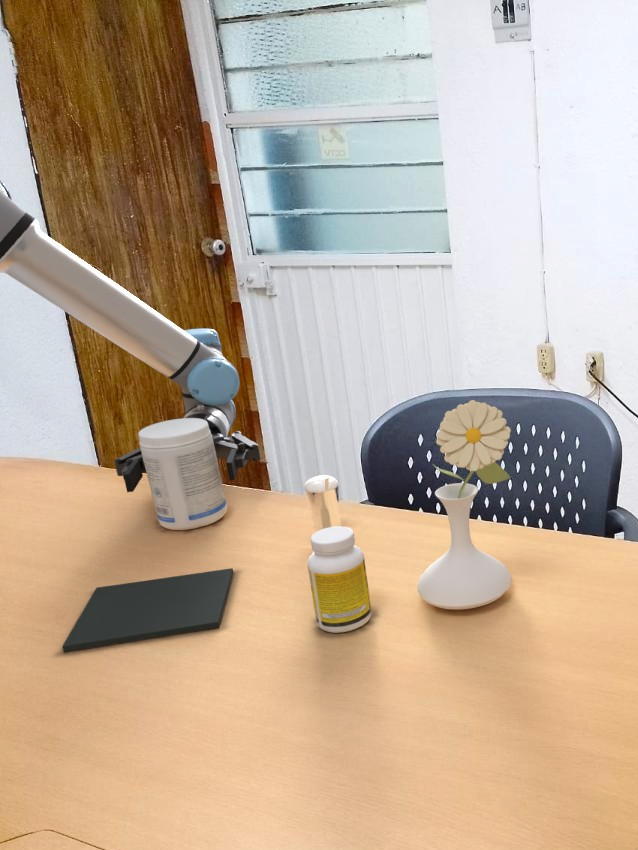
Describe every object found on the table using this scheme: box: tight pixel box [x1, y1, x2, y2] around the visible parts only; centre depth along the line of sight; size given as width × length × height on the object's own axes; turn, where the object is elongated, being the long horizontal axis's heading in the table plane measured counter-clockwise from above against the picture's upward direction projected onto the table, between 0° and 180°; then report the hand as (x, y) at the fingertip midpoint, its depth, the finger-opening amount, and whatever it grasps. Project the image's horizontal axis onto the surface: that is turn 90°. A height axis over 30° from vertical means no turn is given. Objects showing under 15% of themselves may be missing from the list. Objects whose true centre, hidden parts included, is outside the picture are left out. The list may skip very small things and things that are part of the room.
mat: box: [61, 567, 234, 653], centre depth 100 cm, size 16×14×1 cm
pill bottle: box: [307, 525, 372, 634], centre depth 95 cm, size 6×6×11 cm
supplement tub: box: [137, 417, 228, 531], centre depth 123 cm, size 10×10×15 cm
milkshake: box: [303, 474, 341, 533], centre depth 116 cm, size 5×5×10 cm
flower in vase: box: [416, 399, 512, 610], centre depth 97 cm, size 13×11×25 cm
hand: (179, 477), depth 120 cm, fingers open, 13 cm apart
